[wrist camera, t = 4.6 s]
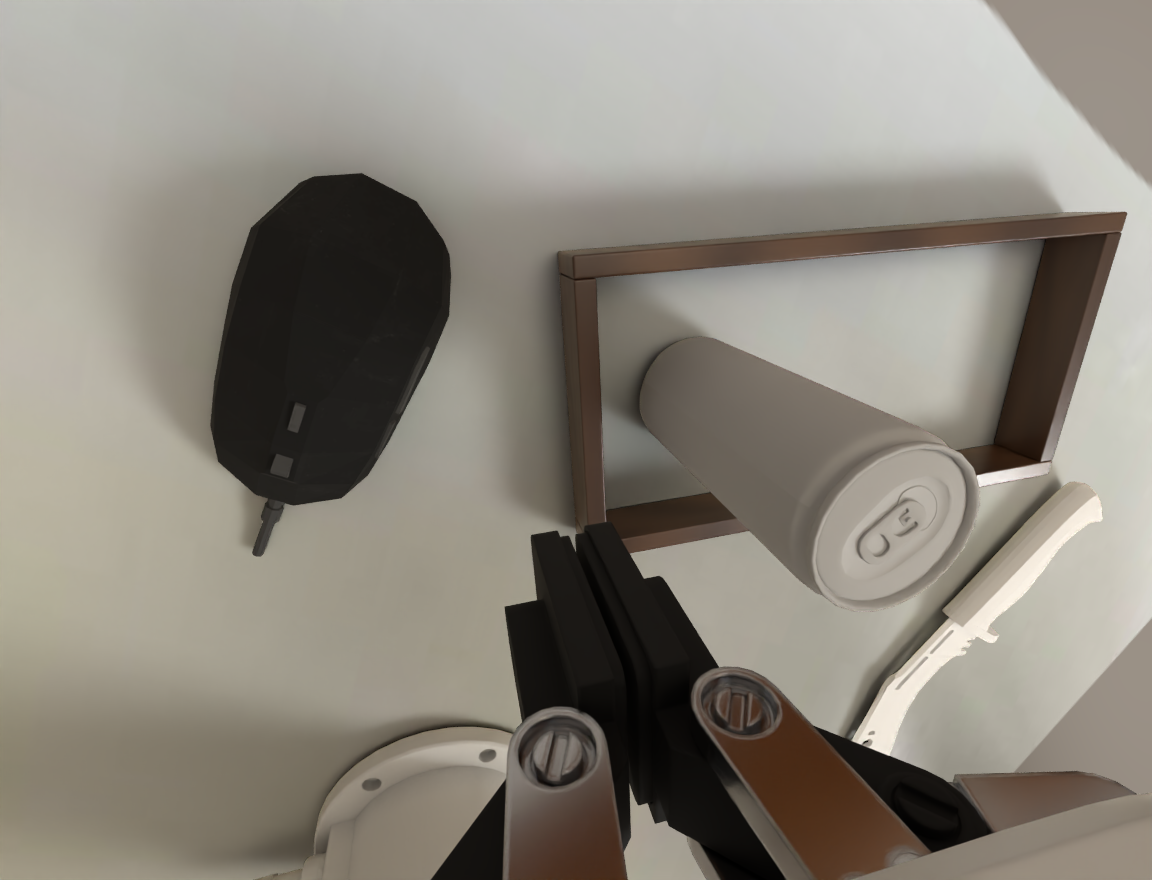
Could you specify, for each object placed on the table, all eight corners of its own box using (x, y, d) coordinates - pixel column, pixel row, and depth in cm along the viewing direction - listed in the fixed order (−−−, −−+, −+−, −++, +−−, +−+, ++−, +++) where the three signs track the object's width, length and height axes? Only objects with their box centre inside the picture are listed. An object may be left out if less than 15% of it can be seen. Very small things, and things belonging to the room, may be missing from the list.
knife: (821, 863, 39) (747, 848, 36) (807, 839, 41) (735, 822, 37) (1153, 540, 32) (1097, 486, 29) (1122, 525, 34) (1065, 472, 31)
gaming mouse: (169, 528, 21) (113, 593, 17) (292, 138, 17) (255, 117, 14) (339, 571, 23) (322, 636, 20) (479, 233, 20) (489, 236, 16)
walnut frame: (575, 530, 25) (589, 561, 23) (557, 251, 20) (572, 255, 18) (1002, 455, 30) (1048, 474, 27) (1066, 212, 25) (1129, 211, 23)
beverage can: (757, 388, 25) (1011, 524, 14) (677, 462, 25) (862, 648, 14) (698, 309, 23) (940, 393, 12) (611, 390, 23) (769, 543, 12)
